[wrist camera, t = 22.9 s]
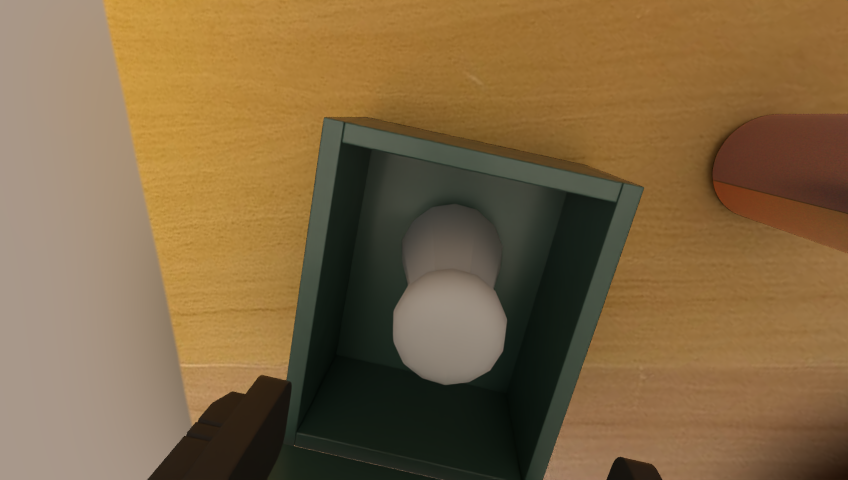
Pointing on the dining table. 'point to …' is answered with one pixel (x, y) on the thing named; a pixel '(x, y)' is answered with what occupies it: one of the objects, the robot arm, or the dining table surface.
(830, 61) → the dining table surface
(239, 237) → the dining table surface
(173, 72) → the dining table surface
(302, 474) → the lid
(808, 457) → the dining table surface
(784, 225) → the beverage can
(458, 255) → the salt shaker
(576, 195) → the chest
